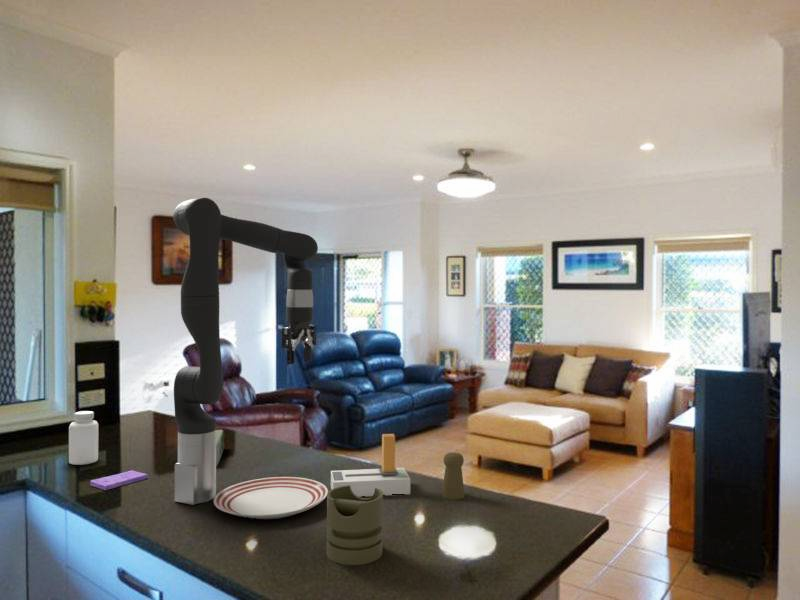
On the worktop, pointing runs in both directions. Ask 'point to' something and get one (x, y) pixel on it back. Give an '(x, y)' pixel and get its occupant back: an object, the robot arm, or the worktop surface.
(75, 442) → the pill bottle
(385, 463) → the handle
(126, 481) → the sponges
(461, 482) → the olive pawn figure
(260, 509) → the dinner plate
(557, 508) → the worktop surface
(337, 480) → the box
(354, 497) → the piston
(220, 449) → the handheld radio
